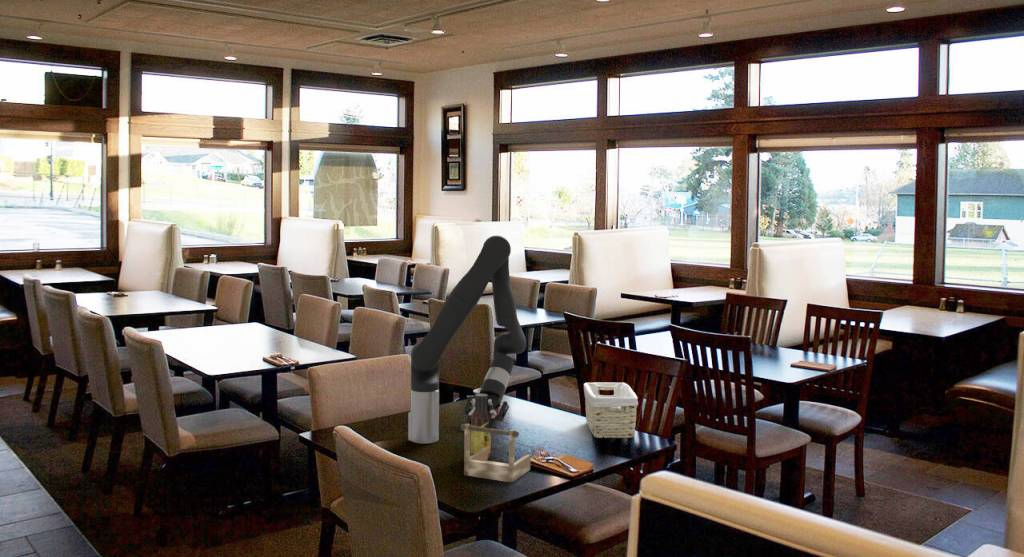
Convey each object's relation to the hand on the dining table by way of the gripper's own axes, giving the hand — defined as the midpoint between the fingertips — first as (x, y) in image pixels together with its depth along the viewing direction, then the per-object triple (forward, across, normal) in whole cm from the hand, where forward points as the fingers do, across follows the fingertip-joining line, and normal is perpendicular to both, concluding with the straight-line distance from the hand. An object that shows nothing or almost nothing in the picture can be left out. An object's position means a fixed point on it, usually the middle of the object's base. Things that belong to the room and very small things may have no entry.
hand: (478, 429), depth 269 cm
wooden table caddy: (+13, +11, 0) cm, 17 cm away
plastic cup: (-23, -17, +37) cm, 47 cm away
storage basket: (-29, +26, +43) cm, 58 cm away
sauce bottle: (+6, 0, +8) cm, 10 cm away
